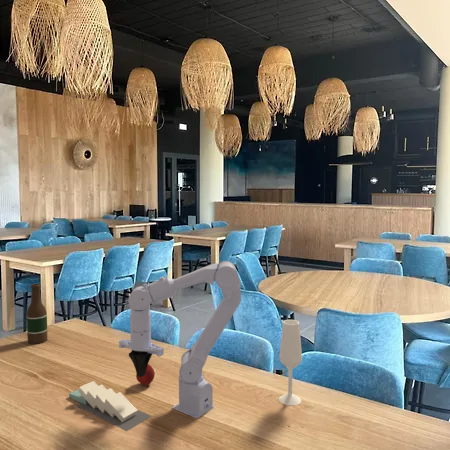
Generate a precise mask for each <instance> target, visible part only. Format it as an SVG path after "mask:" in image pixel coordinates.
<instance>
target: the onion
mask: <svg viewBox="0 0 450 450" xmlns="http://www.w3.org/2000/svg"><path fill="white" fill-rule="evenodd" d="M155 373H156V372H155V370H154V368H153V367H152V366H151V365H150V364H149V363H148V365H147V369H146V374H145V375H144V376H142V377H138V376H137V373H136V375H135V376H136V380H137V382H138V383H139V384H141V385H142V386H144V387H146V386H149V385H150V384H151V383H152V382H153V381H154V379H155V375H156V374H155Z"/></svg>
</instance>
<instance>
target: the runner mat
mask: <svg viewBox="0 0 450 450" xmlns="http://www.w3.org/2000/svg"><path fill="white" fill-rule="evenodd" d="M75 407H77V408H79V409H81V410H83V411H85V412H87V413H89V414H91V415H93V416H95V417H98V418H100V419H102V420H104V421H106V422H108V423H109V424H112V425H114V426H116V427H118V428H120V429H122V430H124V431H126V432H128V431H130V430H131V429H133V428H135V427H136V426H138V425H140V424H142V423H143V422H145V421H146V420H148V419H150V418H152V415H150V414H148V413H146V412H143V411H141V410H139V409H137V410H138V411H137V414H136V415H135V416H133V417H131V418H129V419H127V420H126V421H124V422H121V421H120V419H119V418H118V417H117V416H115V417H113V418H112V417H111V416H110V415H109V413H108V412H105V413H102V412H101V410H100V409H99V408H98V407H97V408H95V409H94V408H93V407H92V406H91V405H90V404H89V403H88V404H86V405H85V404H83V403H79V404H76V406H75Z"/></svg>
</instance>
